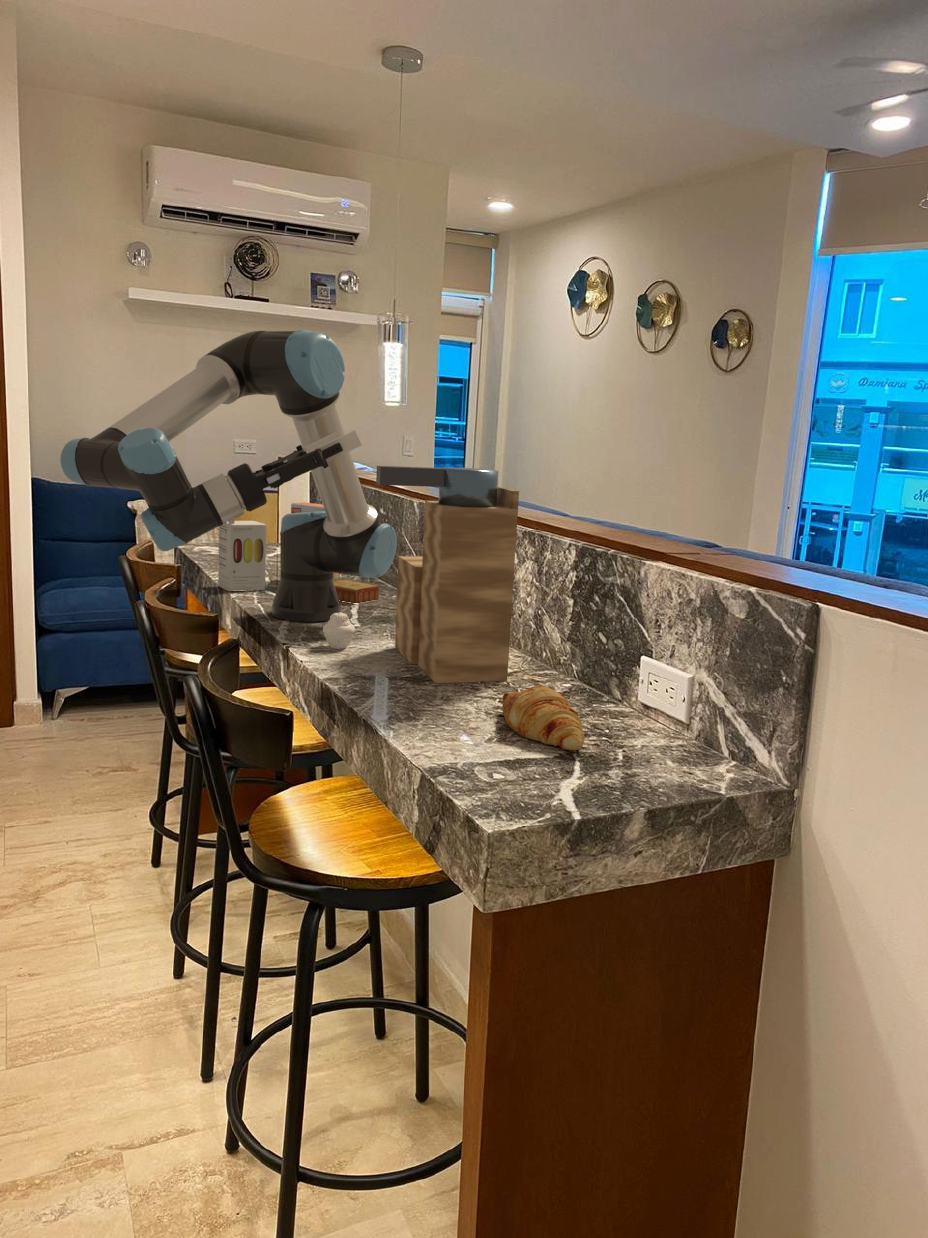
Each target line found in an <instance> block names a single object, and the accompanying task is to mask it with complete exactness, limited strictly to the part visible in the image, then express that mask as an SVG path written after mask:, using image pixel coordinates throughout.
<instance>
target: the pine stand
mask: <svg viewBox="0 0 928 1238" xmlns="http://www.w3.org/2000/svg"><path fill="white" fill-rule="evenodd" d="M519 499H520V491H519V490H517V489H512V488H507V487H502V486H500V485H499V486H498V488H497V505H496V507H490V508H474V507H457V506H448V505H442V504H439V503H438V502H439V500H424V515H423V517H424V519H423V537H422V538H423V541H422V556H421V555H419V556H417V555H416V556H414V555H413V556H411V555H410V556H409V555H408V556H406V555H403V556H402V555H398V557H397V559H398V562H397V564H398V565H397V589H396V613H395V614H396V616H395V617H396V619H395V635H394V636H395V642H394V648H395V649H396V650H397V649H398V650H397V651H398V652H399V653H400V654H401V655H402V656H403V657H404V658H405V660H407V661H408V662H409V663H410V664H411V665H417V666H418V667H419V668H420V669H421V670H422V671H423V672H424V673H425V674H426V675H427V676H428V677H429V678H430V680H432V681H433V682H434V683H435V684H448V683H449V684H450V683H475V682H476V683H478V682H479V681H480V682H481V681H482V682H483V681H484V682H505V681H508V676H509V675H508V674H509V660H510V659H509V656H510V644H511V643H510V641H511V626H512V622H511V621H512V610H513V609H512V608H513V607H512V606H513V594H514V592H513V591H514V581H515V579H514V578H515V577H514V576H515V566H516V565H515V563H516V562H515V561H516V545H517V531H518V530H517V529H518V528H517V527H518V514H519V502H520V500H519ZM480 682H479V683H480Z"/></svg>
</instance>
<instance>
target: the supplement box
mask: <svg viewBox="0 0 928 1238" xmlns="http://www.w3.org/2000/svg"><path fill="white" fill-rule="evenodd" d="M266 559H267V524H266V523H263V522H259V521H256V520H234V524H229V522H228V521H227V523H225V524H223V525H221V526H219V527H218V579H217V580H218V587H219V588H222V589H223V590H226V591H227V590H228V591H227V592H229V591H233V590H265V591H266Z"/></svg>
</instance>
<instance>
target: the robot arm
mask: <svg viewBox="0 0 928 1238" xmlns="http://www.w3.org/2000/svg"><path fill="white" fill-rule="evenodd" d="M344 372H345V361H344V358H343V355H342V352H341V350H340V348H339V347H338V345H337V344H336V342H335V340H333V339H332V338H331V337H329V336H328V334H327V335H326V334H324V333H323V332H321V331H320V332H319V331H310V330H307V329H298V330H253V331H250V332H246V333H242V334H241V335H238V336H236V337H233V338H232V339H230V340H228V341H226V342H224V343H222V344H221V345H219V346H217V347H216V348H214V349H212V350H211V351H209V352H208V353H207V354H204V355H203V356H202V357H200V358H199V360H197V363H196V365H195V369H193V370H192V371H190V372H188V373H187V374H185V375H184V376H183V377H181V378H180V379H178V380H176V381H175V382H174V383H172V384H171V385H169V386H168V387H166V388H165V389H163V390H162V391H161V392H159V393H157V394H155V396H153V397H152V398H150V399H149V400H146V402H144V403H143V404H141V405H140V406H138V407H137V408H135V409H134V410H132V411H131V412H129V413H128V414H126V415H124V417H122V418H121V419H119V420H118V421H116V422H114V423H113V424H111V425H110V426H109V427H107V428H106V429H104V430H103V431H101V432H99V433H98V434H97V435H95V436H93V437H90V438H89V437H80V438H74V439H73V438H72V440H69V441H67V443H66V444H65V445H63V448H62V450H61V453H60V457H59V458H60V467H61V469H62V472H63V473H64V475H65V477H66V478H67V479H68V480H70V481H71V482H73V483H75V484H80V485H85V486H87V487H99V488H101V487H102V488H110V489H118V490H119V489H120V490H128V491H129V490H130V491H137V492H140V494H141V496H142V497H143V499H144V501H145V503H146V505H147V508H146V509H145V510H143V511H141V513H140V519H141V521H142V523H143V524H144V526H145V528H146V530H147V532H148V533H149V535H150V537H151V539H152V541H153V543H154V544H155V545H156V548H157V549H158V550H159V551H161V552H168V551H171V550H173V549H176V548H178V547H181V546H183V545H187V544H189V543H190V542H192V541H193V540H195V539H197V538H199V537H201V536H203V535H205V534H206V533H208V532H210V531H212V530H215V529H216V528H219V526H221V525H223V524H225V523H227V521H228V522H229V524H234V521H235V519H237V518H240V517H242V516H243V515H244V513H245V511H246V512H252V511H255V510H256V509H258V508H260V507H263V506H264V505H266V504H267V501H268V500H267V496H266V494H265V492H264V490H265V489H267V488H269V487H270V488H271V489H272V488H273V489H276V488H279V487H281V486H282V485H284V484H285V483H287V482H290V481H292V480H294V479H295V478H297V477H299V476H301V475H304V474H305V473H308V472H311V475H312V477H313V481H314V484H315V486H316V489H317V492H318V495H319V497H320V499H321V500H320V501H321V503H322V505H323V506H324V509H325V511H316V512H301V513H291V512H290V513H287V514H285V515H283V517H282V518H281V525H280V531H279V535H280V537H279V538H280V540H279V541H280V544H279V545H280V546H279V547H280V557H279V558H280V559H279V561H280V563H279V564H280V565H279V566H280V574H279V576H280V578H279V579H280V580H279V584H278V586H277V589H276V592H275V595H274V598H273V600H272V602H271V603H272V604H271V615H272V616H273V617H275V618H276V619H281V620H284V619H285V621H291V620H292V622H323V621H329V620H330V616H331V615H332V614H334V613H339V612H340V613H342V611H341V607H342V606H341V602H339V599H338V595H337V592H336V589H335V585H334V580H333V577H334V573H340V575H346V576H347V575H348V576H352V577H353V576H355V577H360V578H362V579H365V578H373V579H376V578H377V579H378V578H380V577H382V576H383V575H385V574H386V573H387V572H388V570H389V569H390V567H391V566H392V563H393V562H394V559H395V555H396V552H397V545H398V543H397V542H398V541H397V539H398V537H397V533H396V530H395V528H394V527H393V526H392V525H390V524H388V523H386V522H385V523H381V521H380V518H379V514H378V512H377V509H376V508H375V507H374V506H373V505H371V504H368V503H367V500H366V498H365V495H364V492H363V491H364V490H363V488H362V484H361V482H360V479H359V475H358V473H357V470H356V466H355V463H354V459H353V457H352V453H351V451H354V450H355V449H357V448H360V447H361V446H363V445H362V443H361V441H360V439H359V436H358V435H357V434H358V433H357V432H356V430H355V429H354V430H352V431H351V430H350V432H347V433H346V434H345V431H344V429H343V424H342V422H341V420H340V415H339V413H338V409H337V407H336V406H337V405H336V403H337V402H338V400H339V399H340V397H341V389H342V388H343V386H344V382H345V378H346V377H345V376H344ZM255 395H263V396H266V395H267V396H275V398H276V400H277V403H278V406H279V408H280V411H281V413H282V414H283V415H284V416H288V417H290V418H291V419H292V421H293V424H294V426H295V430H296V433H297V435H298V439H299V440H300V443H301V444H299V445H297V446H295V448H296V450H294V451H292V452H291V453H289V454H287V455H285V456H284V457H282V458H279V459H277V460H273V461H272V462H269V463H266V464H264V465H262V466H261V467H260V469H259V470H258V469H257V470H255V472H254V470H253V469H252V467H251V466H250V465H249V464H248V463H241V464H240V465H237V466H236V467H233V468H232V469H229V470H228V471H227V475H226V474H224V473H220V474H218V475H216V476H214V477H212V478H209V479H208V480H205V481H203V482H201V483H199V484H198V485H196V486H192V484H191V482H190V480H189V478H188V477H187V475H186V472H185V470H184V469H183V466H182V465H181V462H180V460H179V458H178V456H177V453H176V451H175V448H173V445H171V444H170V442H171V441H172V440H173V439H175V438H176V437H178V436H179V435H180V434H182V433H183V432H184V431H186V430H187V429H189V428H190V427H191V426H193V425H195V424H196V423H197V422H198V421H200V420H201V419H202V418H204V417H205V416H206V415H208V414H210V412H212V411H214V410H215V409H216V408H217V407H219V406H220V405H230V404H233V403H235V402H236V401H237V400H238V399H240V398H243V397H246V396H255Z"/></svg>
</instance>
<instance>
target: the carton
mask: <svg viewBox="0 0 928 1238" xmlns="http://www.w3.org/2000/svg"><path fill="white" fill-rule="evenodd" d="M333 580H334V585H335V589H336V592H337V595H338V599H339V600H340V601H346V602H351V603H360V602H366V601H371V600H377V599H378V600H379V596H380V588H379V587H380V586H379V585H375V584H372V583H364V582H359V581H354V580H353V581H352V580H348V579H342V578H340V579H337V578H333Z"/></svg>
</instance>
